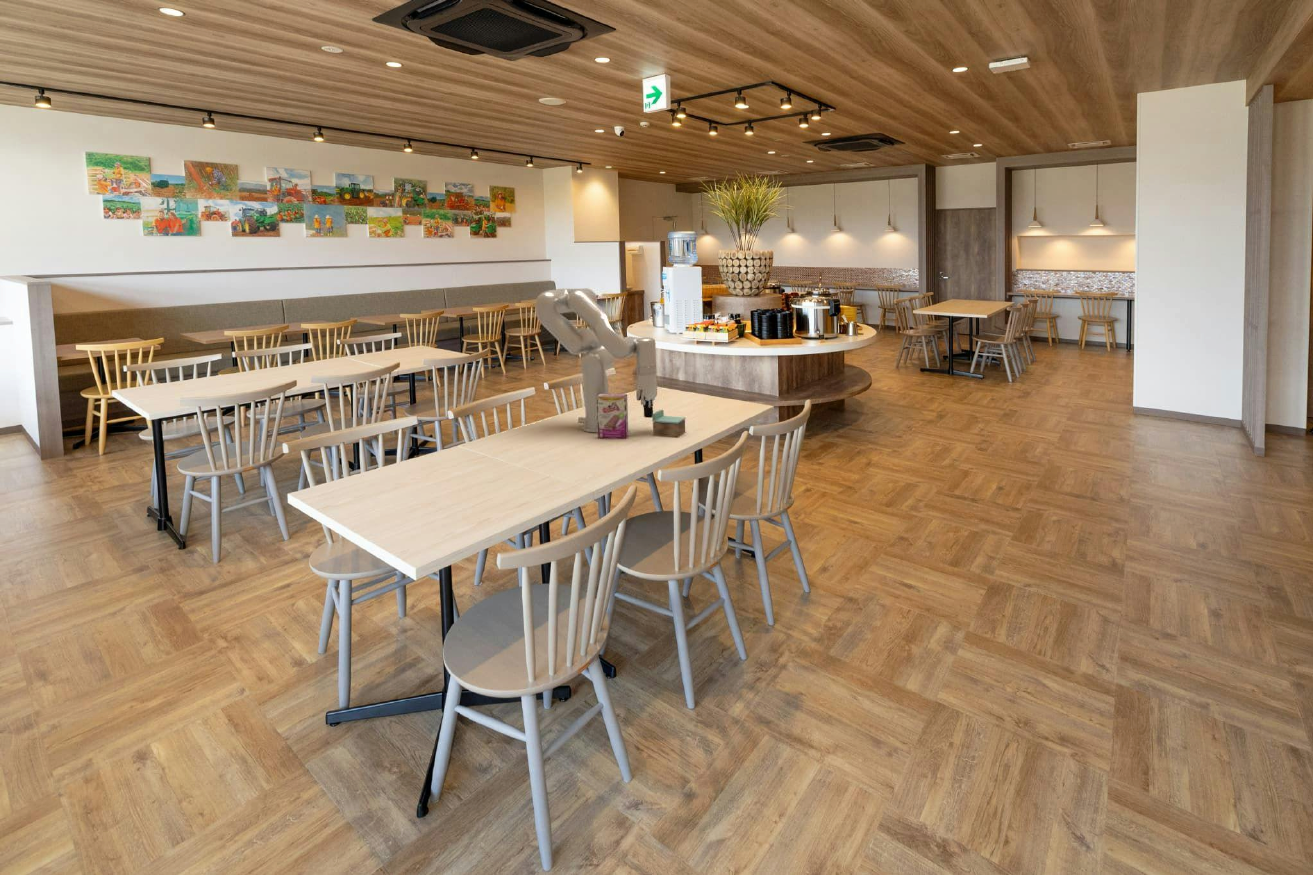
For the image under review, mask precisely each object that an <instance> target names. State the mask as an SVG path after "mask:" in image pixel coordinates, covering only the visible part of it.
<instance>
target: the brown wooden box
mask: <svg viewBox="0 0 1313 875" xmlns="http://www.w3.org/2000/svg"><path fill="white" fill-rule="evenodd" d="M652 433H653V434H652V435H653V436H658V437H667V438H668V437H669V438H670V437H671V438H679V437H680V436H682V435H683V434H685V433H686V419H685V420H683V421H682V422H680V423H678V424H673V423H661V422H652Z"/></svg>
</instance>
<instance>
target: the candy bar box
mask: <svg viewBox="0 0 1313 875" xmlns="http://www.w3.org/2000/svg"><path fill="white" fill-rule="evenodd" d="M628 408H629V406H628V394H626V393H609V394H599V395H598V396H597V415H598V432H597V434H598V435H597V437H598V439H627V438H628V436H629V414H628V413H629V409H628Z"/></svg>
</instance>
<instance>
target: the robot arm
mask: <svg viewBox="0 0 1313 875" xmlns="http://www.w3.org/2000/svg"><path fill="white" fill-rule="evenodd" d="M597 296H598V295H597V293H596V292H594V291H593V290H592V289H590V288H585V287H584V288H556V289H550V290H545V291H543V292H541V293H540V294H539V295H538V296H537V298H536V300H535V304H534V311H535V315H536V317H537V319H538V322H540V324H541V325H542V327H544V328H545V329H546V330H547V331H548V332H549V333H550V334H551V335H552V336H553V337H554V338H555V339H556V340H557V341H558V343H560V344H561V345H562V346H563V347H564V348H565V350H567V351H568V352H569V353H570V354H571V355H577V356H578V355H581V354H584V355H583V356H582V358H581V359H580V360H581V361H580V370H581V373H582V380H583V393H584V410H585V411H584V412H585V417H583V416H582V417H581V416H579V417H578V419H577V423H578V424H583V425H582V431H584V432H587V433H598V415H597V396H598V395H599V394H610V391H609V381H608V377H607V373H606V372H607V371H609V370H610V369H612V368H613V367H614V364H615V363H616V359H618V360H624V359H627V358H631V357H633V356H636V357H635V358H636V360H635V361H636V400H637V401H640V405H642V408H643V418H646V419H647V418H652V414H653V413H654V400H656V398H657V397H658V382H657V374H658V373H657V352H656V351H657V350H656V348H657V347H656V346H657V345H656V339H655V338H654V337H636V336H626V337H625V336H624V337H621V336H620V335H619V334H617V332H615V330H614V328H613V327H612V326H611V324H610V316H609V313H608V312H607V311H606V310H605V309H604V308H603V307H602V306H600V305H599V304H598V297H597ZM561 311H573V313H575V314H576V316H577V317H579V318H580V319H581V320H582V321H583V322H584V323H585V324H586V325H587V326H588V327H589V328H591V329H589V328H586V327H581V328H577V327H576V326H575V325H574V324H573V323H572V322H571V321H570V320H569V319H568V318H567V317H565V316H564V315H562V314H561V313H560V312H561Z"/></svg>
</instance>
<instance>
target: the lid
mask: <svg viewBox="0 0 1313 875" xmlns="http://www.w3.org/2000/svg"><path fill="white" fill-rule="evenodd" d="M664 414H665V413H664V409H659V410H657V411H655V412H653V414H652V417H651V418H652V420H651V421H652V423H653V422H661V423H673V424H678V423H680V422H682V421H683V420H685V421H686V419H687V418H686V417H684V416H683V417H682V416H671V415H669V416H668V415H664Z"/></svg>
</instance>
